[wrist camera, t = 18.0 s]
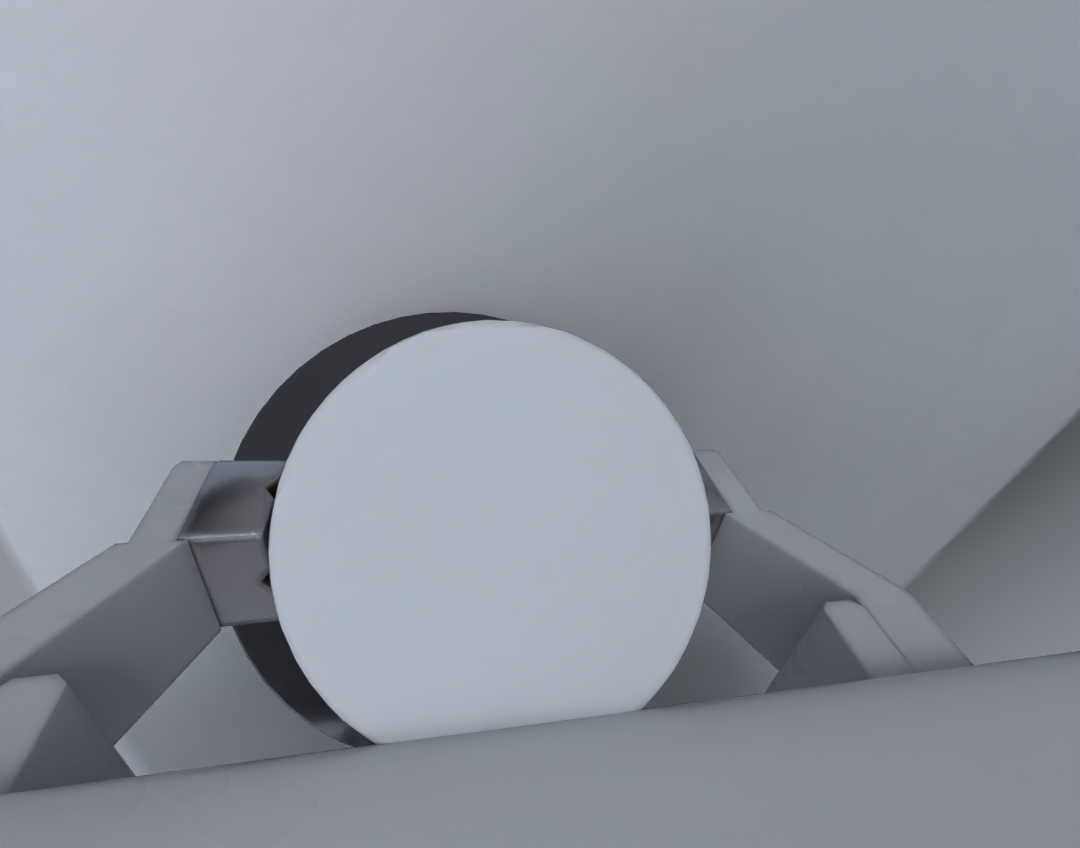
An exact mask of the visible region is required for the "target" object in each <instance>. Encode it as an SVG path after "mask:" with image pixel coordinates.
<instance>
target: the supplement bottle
mask: <svg viewBox="0 0 1080 848" xmlns="http://www.w3.org/2000/svg"><path fill="white" fill-rule="evenodd" d="M268 553H269V568H270V582H271V587H272V592H273V597H274V602H275V607H276V611H277V614H278V618H279V622H280V625H281V628H282V630H283V632H284V635H285V637H286V639H287V642H288V644H289V646H290V648H291V651H292V653H293V655H294V657H295V659H296V661H297V663H298V665H299V666H300V668H301V669H302V671H303V673H304V674H305V676H306V677H307V679H308V681H309V682H310V684H311V685H312V686H313V687H314V689H315V690H316V691H317V692H318V694H319V695H320V696H321V697H322V698H323V700H324V701H325V702H326V703H327V705H328V706H329V707H330V708H331V709H332V710H333V711H334V712H335V713H336V714H337V715H338V716H339V717H340V718H341V719H342V720H343V721H344V722H346V723H347V724H348V725H350V726H351V727H352V728H354V729H355V730H356V731H358V732H359V733H361V734H362V735H363V736H365V737H366V738H367V739H369V740H370V741H372V742H373V743H375V744H377V745H378V744H389V743H397V742H405V741H412V740H420V739H427V738H435V737H443V736H450V735H458V734H465V733H473V732H480V731H487V730H495V729H502V728H510V727H517V726H525V725H533V724H541V723H549V722H556V721H564V720H572V719H580V718H587V717H595V716H603V715H610V714H618V713H626V712H632V711H636V710H642V708H643V707H644V706H645V705H646V704H647V703H648V702H649V701H650V700H651V699H652V698H653V697H654V695H655V694H656V693H657V692H658V691H659V689H660V688H661V687H662V685H663V684H664V683H665V681H666V680H667V679H668V678H669V676H670V675H671V674H672V672H673V671H674V669H675V667H676V665H677V664H678V662H679V660H680V659H681V657H682V655H683V653H684V652H685V649H686V647H687V645H688V642H689V640H690V638H691V635H692V633H693V631H694V628H695V626H696V624H697V621H698V619H699V616H700V612H701V608H702V604H703V600H704V596H705V592H706V587H707V583H708V578H709V568H710V558H711V532H710V518H709V505H708V501H707V497H706V492H705V487H704V484H703V480H702V476H701V473H700V470H699V467H698V464H697V461H696V459H695V456H694V454H693V451H692V449H691V446H690V444H689V442H688V440H687V439H686V437H685V435H684V433H683V431H682V430H681V428H680V426H679V424H678V423H677V421H676V420H675V418H674V416H673V415H672V413H671V412H670V411H669V409H668V408H667V407H666V405H665V404H664V403H663V402H662V400H661V399H660V398H659V397H658V395H657V394H656V393H655V392H654V391H653V390H652V389H651V388H650V387H649V385H648V384H646V383H645V382H644V381H643V380H642V379H641V378H640V377H639V376H638V375H637V374H636V373H635V372H633V371H632V370H631V369H630V368H628V367H627V366H626V365H625V364H623V363H622V362H621V361H620V360H618V359H617V358H616V357H614V356H612V355H611V354H609V353H608V352H606V351H604V350H603V349H601V348H599V347H597V346H595V345H593V344H591V343H589V342H587V341H585V340H583V339H581V338H579V337H577V336H575V335H572V334H569V333H567V332H564V331H561V330H557V329H553V328H550V327H546V326H542V325H537V324H533V323H528V322H519V321H501V320H480V321H469V322H462V323H457V324H451V325H446V326H442V327H438V328H435V329H431V330H427V331H424V332H421V333H419V334H416V335H414V336H412V337H409V338H407V339H404V340H402V341H400V342H398V343H396V344H394V345H393V346H391V347H389V348H387V349H385V350H383V351H381V352H380V353H378V354H377V355H375V356H374V357H372V358H371V359H369V360H368V361H367V362H365V363H364V364H362V365H361V366H360V367H358V368H357V369H356V370H354V371H353V372H352V373H351V374H350V375H349V376H347V377H346V378H345V379H344V380H343V381H342V382H341V383H340V384H339V385H338V386H337V387H336V388H335V389H334V390H333V391H332V392H331V393H330V394H329V395H328V396H327V397H326V398H325V399H324V401H323V402H322V403H321V405H320V406H319V407H318V408H317V410H316V411H315V412H314V414H313V415H312V416H311V418H310V419H309V421H308V422H307V424H306V425H305V427H304V428H303V430H302V431H301V433H300V435H299V436H298V438H297V441H296V443H295V445H294V447H293V449H292V451H291V453H290V455H289V457H288V459H287V461H286V464H285V467H284V470H283V472H282V475H281V478H280V481H279V484H278V488H277V493H276V497H275V502H274V507H273V512H272V518H271V526H270V534H269V549H268Z"/></svg>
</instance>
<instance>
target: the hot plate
mask: <svg viewBox="0 0 1080 848" xmlns="http://www.w3.org/2000/svg"><path fill="white" fill-rule="evenodd" d="M480 320H501V321H509V320H504V319H500V318H495V317H491V316H486V315H480V314H469V313H459V312H446V313H425V314H419V315H412V316H405V317H400V318H396V319H393V320H389V321H386V322H382V323H379V324H375V325H372V326H370V327H368V328H365V329H363V330H360V331H358V332H356V333H353V334H351V335H349V336H346V337H345V338H343V339H341V340H340V341H338V342H336V343H334V344H333V345H331V346H329V347H327V348H326V349H324V350H322V351H321V352H320V353H318V354H317V355H316V356H314V357H313V358H312V359H310V360H309V361H308V362H306V363H305V364H304V365H302V366H301V367H300V368H298V369H297V370H296V371H295V372H294V373H293V374H292V375H291V376H290V377H289V378H288V379H287V380H286V381H285V382H284V383H283V384H282V385H281V386H280V387H279V388H278V389H277V390H276V391H275V393H274V394H273V395H272V396H271V398H270V399H269V400H268V402H267V403H266V404H265V405H264V407H263V408H262V409H261V411H260V412H259V413H258V414H257V416H256V418H255V420H254V421H253V423H252V425H251V426H250V428H249V430H248V431H247V433H246V435H245V436H244V438H243V440H242V442H241V444H240V447H239V449H238V451H237V454H236V456H235V458H234V461H287V459H288V457H289V455H290V453H291V451H292V449H293V447H294V445H295V443H296V441H297V438H298V436H299V435H300V433H301V431H302V430H303V428H304V427H305V425H306V424H307V422H308V421H309V419H310V418H311V416H312V415H313V414H314V412H315V411H316V410H317V408H318V407H319V406H320V405H321V403H322V402H323V401H324V399H325V398H326V397H327V396H328V395H329V394H330V393H331V392H332V391H333V390H334V389H335V388H336V387H337V386H338V385H339V384H340V383H341V382H342V381H343V380H344V379H345V378H346V377H347V376H349V375H350V374H351V373H352V372H353V371H354V370H356V369H357V368H358V367H360V366H361V365H362V364H364V363H365V362H367V361H368V360H369V359H371V358H372V357H374V356H375V355H377V354H378V353H380V352H381V351H383V350H385V349H387V348H389V347H391V346H393V345H394V344H396V343H398V342H400V341H402V340H404V339H407V338H409V337H412V336H414V335H416V334H419V333H421V332H424V331H427V330H431V329H435V328H438V327H442V326H446V325H451V324H457V323H462V322H469V321H480ZM232 627H233V629H234V631H235V633H236V635H237V637H238V639H239V641H240V643H241V645H242V647H243V649H244V651H245V653H246V655H247V657H248V659H249V660H250V662H251V663H252V664H253V666H254V667H255V669H256V670H257V672H258V673H259V675H260V676H261V677H262V679H263V680H264V682H265V683H266V684H267V685H268V686H269V687H270V689H271V690H272V691H273V692H274V693H275V694H276V695H277V696H278V697H279V698H280V699H281V700H282V701H283V702H284V703H285V704H286V705H287V707H289V708H290V709H291V710H293V711H294V712H295V713H296V714H298V715H299V716H300V717H302V718H303V719H304V720H305V721H307V722H308V723H309V724H311V725H312V726H313V727H315V728H317V729H318V730H320V731H322V732H324V733H326V734H327V735H329V736H331V737H333V738H334V739H336V740H338V741H340V742H342V743H345V744H347V745H350V746H352V747H362V746H369V745H377V744H375V743H373V742H372V741H370V740H369V739H367V738H366V737H365V736H363V735H362V734H361V733H359V732H358V731H356V730H355V729H354V728H352V727H351V726H350V725H348V724H347V723H346V722H344V721H343V720H342V719H341V718H340V717H339V716H338V715H337V714H336V713H335V712H334V711H333V710H332V709H331V708H330V707H329V706H328V705H327V703H326V702H325V701H324V700H323V698H322V697H321V696H320V695H319V694H318V692H317V691H316V690H315V689H314V687H313V686H312V685H311V684H310V682H309V681H308V679H307V677H306V676H305V674H304V673H303V671H302V669H301V668H300V666H299V665H298V663H297V661H296V659H295V657H294V655H293V653H292V651H291V648H290V646H289V644H288V642H287V639H286V637H285V635H284V632H283V630H282V628H281V625H280V622H279V621H271V622H261V623H252V624H243V625H233V626H232Z"/></svg>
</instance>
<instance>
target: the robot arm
mask: <svg viewBox="0 0 1080 848" xmlns="http://www.w3.org/2000/svg"><path fill="white" fill-rule="evenodd" d="M693 454H694V456H695V459H696V461H697V464H698V467H699V470H700V473H701V476H702V480H703V484H704V487H705V492H706V497H707V501H708V505H709V518H710V532H711V558H710V568H709V578H708V583H707V587H706V592H705V596H704V600H703V601H704V602H705V603H706V604H707V605H708V606H709V607H710V608H711V609H713V610H714V611H715V612H716V613H717V614H718V615H719V616H720V617H721V618H722V619H723V620H725V621H726V622H727V623H728V624H729V625H730V626H731V627H732V628H733V629H734V630H735V631H736V632H738V633H739V634H740V635H741V636H742V637H743V638H744V639H745V640H746V641H747V642H748V643H750V644H751V645H752V646H753V647H754V648H755V649H756V650H757V651H758V652H759V653H760V654H762V655H763V656H764V657H765V658H766V659H767V660H768V661H769V662H770V663H771V664H772V665H773V666H775V667H776V668H777V669H778V670H779V672H778V673H777V675H776V676H775V678H774V679H773V681H772V682H771V684H770V685H769V687H768V688H767V690H766V692H765V693H762V694H754V695H747V696H739V697H732V698H724V699H717V700H709V701H702V702H694V703H687V704H679V705H672V706H664V707H656V708H649V709H642V710H636V711H632V712H626V713H618V714H610V715H603V716H595V717H587V718H580V719H572V720H564V721H556V722H549V723H541V724H533V725H525V726H517V727H510V728H502V729H495V730H487V731H480V732H473V733H465V734H458V735H450V736H443V737H435V738H427V739H420V740H412V741H405V742H397V743H389V744H378V745H369V746H362V747H354V748H347V749H339V750H332V751H324V752H317V753H309V754H302V755H294V756H287V757H279V758H272V759H264V760H256V761H249V762H241V763H234V764H226V765H219V766H211V767H204V768H196V769H189V770H181V771H174V772H166V773H159V774H151V775H144V776H137V777H136V776H135V775H134V773H133V772H132V771H131V769H130V768H129V766H128V765H127V764H126V762H125V761H124V760H123V758H122V757H121V756H120V754H119V753H118V752H117V751H116V749H115V748H114V745H115V744H116V743H117V742H118V741H119V740H120V739H121V737H122V736H123V735H124V734H125V733H126V732H127V731H128V730H129V729H130V728H131V727H132V726H133V725H134V724H135V722H136V721H137V720H138V719H139V718H140V717H141V716H142V715H143V714H144V713H145V712H146V711H147V710H148V709H149V707H150V706H151V705H152V704H153V703H154V702H155V701H156V700H157V699H158V698H159V697H160V696H161V695H162V693H163V692H164V691H165V690H166V689H167V688H168V687H169V686H170V685H171V684H172V683H173V682H174V681H175V680H176V678H177V677H178V676H179V675H180V674H181V673H182V672H183V671H184V670H185V669H186V668H187V667H188V666H189V665H190V663H191V662H192V661H193V660H194V659H195V658H196V657H197V656H198V655H199V654H200V653H201V652H202V651H203V649H204V648H205V647H206V646H207V645H208V644H209V643H210V642H211V641H212V640H213V639H214V638H215V637H216V636H217V634H218V633H219V632H220V631H221V627H224V626H233V625H243V624H252V623H261V622H271V621H279V618H278V614H277V611H276V607H275V602H274V597H273V592H272V587H271V582H270V568H269V553H268V549H269V534H270V526H271V518H272V512H273V507H274V502H275V497H276V493H277V488H278V484H279V481H280V478H281V475H282V472H283V470H284V467H285V464H286V461H218V462H217V461H182V462H180V463H179V464H177V465H175V466H174V467H173V468H172V470H171V471H170V473H169V475H168V477H167V478H166V480H165V482H164V483H163V485H162V487H161V488H160V490H159V492H158V493H157V495H156V497H155V498H154V500H153V502H152V503H151V505H150V507H149V509H148V510H147V512H146V514H145V515H144V517H143V519H142V520H141V522H140V524H139V525H138V527H137V529H136V530H135V532H134V534H133V535H132V537H131V539H130V541H129V542H128V543H122V544H115V545H113V546H111V547H110V548H108V549H107V550H105V551H103V552H102V553H100V554H99V555H97V556H96V557H94V558H92V559H91V560H89V561H88V562H86V563H84V564H83V565H81V566H80V567H78V568H77V569H75V570H73V571H72V572H70V573H69V574H67V575H65V576H64V577H62V578H61V579H59V580H58V581H56V582H54V583H53V584H51V585H50V586H48V587H46V588H45V589H43V590H42V591H40V592H39V593H37V594H35V595H34V596H32V597H31V598H29V599H27V600H26V601H24V602H23V603H21V604H20V605H18V606H16V607H15V608H13V609H12V610H10V611H9V612H7V613H5V614H4V615H2V616H1V617H0V848H1080V651H1077V652H1069V653H1062V654H1054V655H1047V656H1040V657H1032V658H1024V659H1017V660H1010V661H1002V662H995V663H987V664H980V665H973V664H972V663H971V662H970V660H969V659H968V658H967V657H966V656H965V655H964V654H963V653H962V651H961V650H960V649H959V648H958V647H957V646H956V645H955V643H954V642H953V641H952V640H951V639H950V638H949V637H948V636H947V634H946V633H945V632H944V631H943V630H942V629H941V628H940V626H938V624H937V623H936V622H935V621H934V620H933V619H932V617H931V616H930V615H929V614H928V613H927V612H926V611H925V609H924V608H923V607H922V606H921V605H920V604H919V603H918V602H917V600H916V599H915V598H914V597H913V596H912V595H911V594H910V592H908V591H906V590H904V589H903V588H901V587H899V586H898V585H896V584H894V583H893V582H891V581H889V580H887V579H886V578H884V577H882V576H881V575H879V574H877V573H875V572H874V571H872V570H870V569H869V568H867V567H865V566H863V565H862V564H860V563H858V562H857V561H855V560H853V559H851V558H850V557H848V556H846V555H845V554H843V553H841V552H839V551H838V550H836V549H834V548H833V547H831V546H829V545H827V544H826V543H824V542H822V541H821V540H819V539H817V538H815V537H814V536H812V535H810V534H809V533H807V532H805V531H803V530H802V529H800V528H798V527H797V526H795V525H793V524H791V523H790V522H788V521H786V520H785V519H783V518H781V517H779V516H778V515H776V514H774V513H773V512H771V511H761V509H760V508H759V506H758V505H757V504H756V502H755V501H754V500H753V498H752V497H751V495H750V494H749V493H748V491H747V490H746V489H745V487H744V486H743V484H742V483H741V482H740V480H739V479H738V478H737V476H736V475H735V474H734V472H733V471H732V469H731V468H730V467H729V465H728V464H727V463H726V461H725V460H724V458H723V457H722V456H721V454H720V453H718V452H716V451H715V450H696V451H693Z"/></svg>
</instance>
